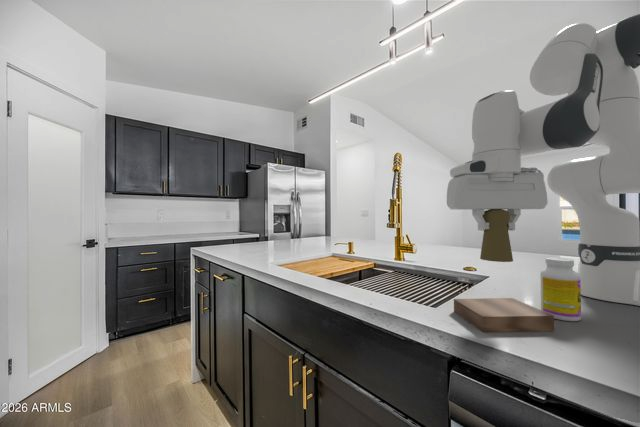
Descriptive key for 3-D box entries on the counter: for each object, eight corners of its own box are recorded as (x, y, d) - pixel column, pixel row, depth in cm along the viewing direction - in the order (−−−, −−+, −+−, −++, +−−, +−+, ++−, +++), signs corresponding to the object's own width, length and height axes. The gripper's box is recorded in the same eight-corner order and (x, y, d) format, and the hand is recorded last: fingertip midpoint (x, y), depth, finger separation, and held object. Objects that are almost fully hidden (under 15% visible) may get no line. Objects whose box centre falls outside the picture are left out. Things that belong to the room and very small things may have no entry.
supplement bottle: (585, 325, 54) (584, 262, 54) (544, 318, 58) (543, 260, 58) (576, 314, 60) (575, 258, 60) (538, 309, 63) (537, 255, 63)
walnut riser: (512, 310, 62) (512, 298, 62) (554, 331, 51) (553, 315, 51) (453, 311, 62) (453, 298, 62) (483, 332, 51) (482, 316, 51)
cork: (519, 262, 54) (519, 208, 54) (488, 261, 55) (487, 209, 55) (503, 257, 60) (502, 209, 60) (475, 257, 61) (474, 209, 61)
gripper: (531, 169, 61) (531, 229, 61) (443, 170, 61) (443, 229, 60) (555, 164, 54) (556, 231, 54) (457, 164, 54) (458, 231, 54)
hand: (496, 230), depth 57 cm, fingers closed on cork, 4 cm apart
